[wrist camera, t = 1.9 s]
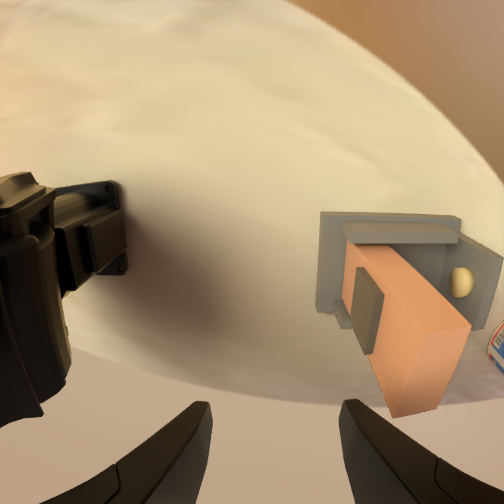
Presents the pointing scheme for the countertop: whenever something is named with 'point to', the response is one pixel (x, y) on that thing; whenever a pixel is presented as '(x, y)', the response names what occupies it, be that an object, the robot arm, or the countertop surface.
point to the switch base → (410, 259)
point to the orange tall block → (402, 327)
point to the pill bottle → (497, 347)
